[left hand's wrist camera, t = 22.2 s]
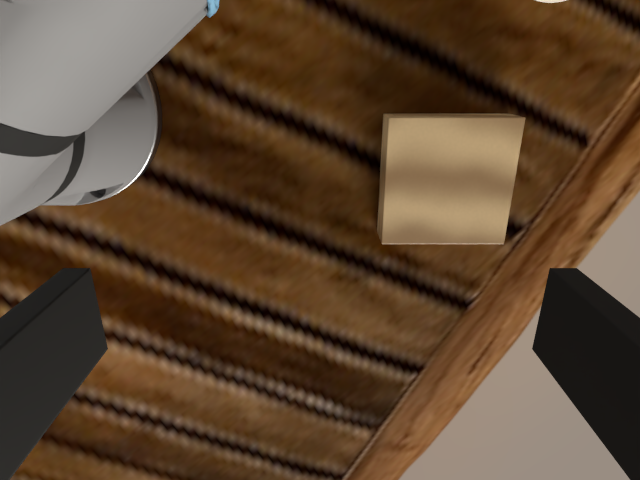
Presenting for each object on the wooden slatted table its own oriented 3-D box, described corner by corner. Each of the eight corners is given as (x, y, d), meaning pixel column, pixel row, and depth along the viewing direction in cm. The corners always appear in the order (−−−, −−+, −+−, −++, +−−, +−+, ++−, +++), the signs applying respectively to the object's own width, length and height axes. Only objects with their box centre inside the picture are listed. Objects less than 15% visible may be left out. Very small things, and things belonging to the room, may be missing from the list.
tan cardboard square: (490, 231, 38) (504, 244, 35) (377, 231, 38) (381, 244, 35) (509, 113, 34) (525, 117, 32) (383, 113, 34) (388, 117, 32)
